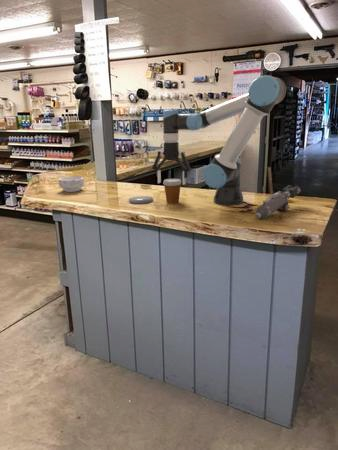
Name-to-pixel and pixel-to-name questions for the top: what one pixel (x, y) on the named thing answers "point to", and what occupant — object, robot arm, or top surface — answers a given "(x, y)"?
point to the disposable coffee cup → (172, 190)
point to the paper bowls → (71, 183)
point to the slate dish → (140, 200)
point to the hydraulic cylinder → (277, 202)
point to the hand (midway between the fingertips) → (171, 183)
